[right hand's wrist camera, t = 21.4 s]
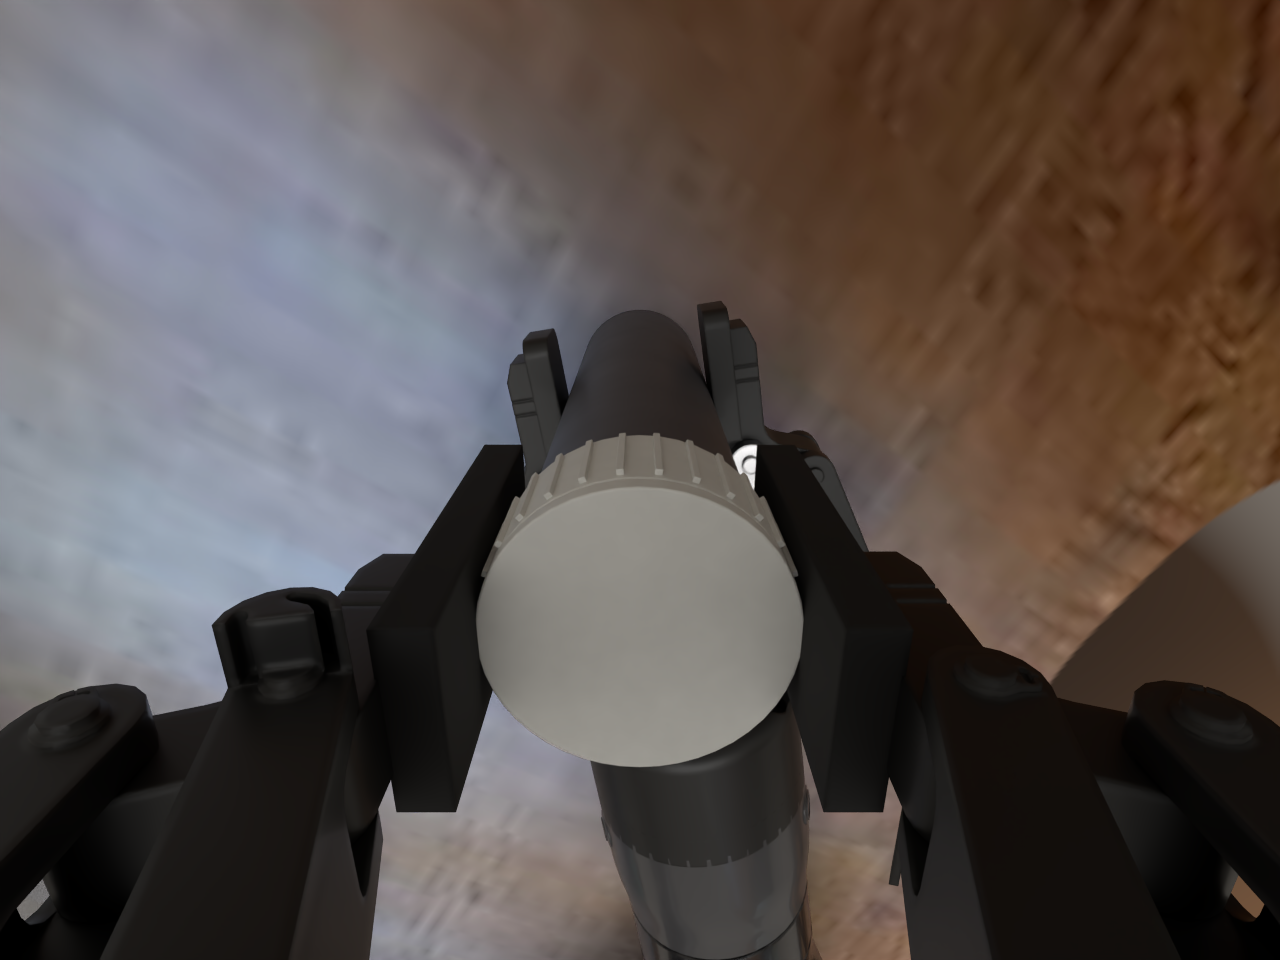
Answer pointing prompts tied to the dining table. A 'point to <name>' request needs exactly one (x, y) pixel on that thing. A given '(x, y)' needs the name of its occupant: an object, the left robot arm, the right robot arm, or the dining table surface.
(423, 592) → the right robot arm
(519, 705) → the lid
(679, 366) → the dark grey cylinder
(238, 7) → the dining table surface
